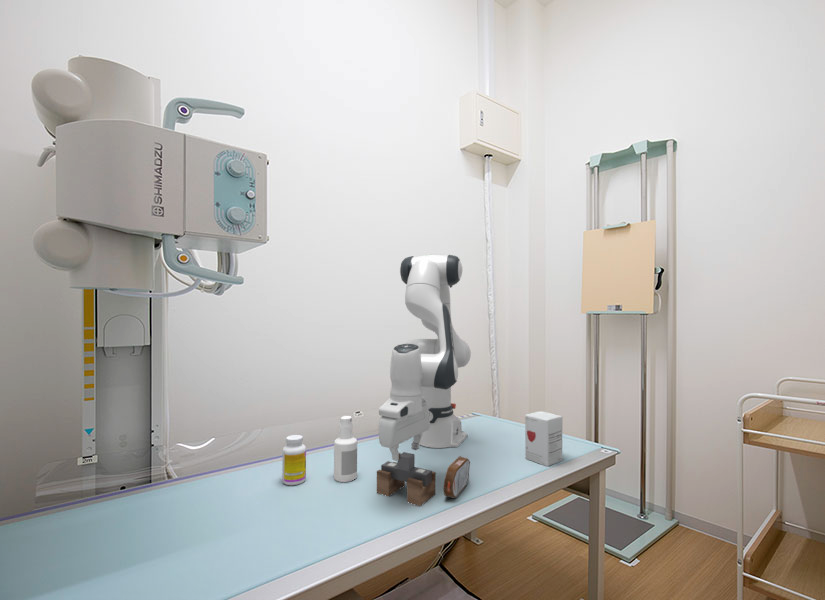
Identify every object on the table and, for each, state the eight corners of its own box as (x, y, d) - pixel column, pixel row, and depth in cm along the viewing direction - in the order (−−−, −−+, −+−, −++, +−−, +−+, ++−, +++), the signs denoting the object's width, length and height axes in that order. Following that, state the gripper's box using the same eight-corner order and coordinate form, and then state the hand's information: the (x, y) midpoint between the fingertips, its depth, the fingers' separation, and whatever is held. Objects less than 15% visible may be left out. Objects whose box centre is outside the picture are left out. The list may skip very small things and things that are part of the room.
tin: (461, 480, 121) (461, 451, 121) (471, 482, 120) (471, 453, 120) (442, 502, 107) (442, 469, 108) (453, 504, 106) (453, 471, 106)
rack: (393, 482, 119) (393, 461, 119) (435, 494, 112) (435, 472, 112) (376, 493, 112) (376, 471, 112) (420, 506, 105) (420, 482, 105)
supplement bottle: (308, 483, 119) (308, 438, 119) (285, 488, 115) (285, 442, 116) (302, 474, 124) (302, 432, 125) (279, 479, 121) (280, 435, 121)
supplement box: (524, 458, 138) (524, 414, 138) (539, 453, 144) (539, 410, 144) (547, 467, 131) (547, 420, 131) (563, 460, 137) (563, 415, 137)
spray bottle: (352, 483, 118) (352, 421, 119) (330, 481, 120) (330, 419, 120) (360, 474, 125) (360, 415, 125) (339, 472, 126) (339, 413, 127)
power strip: (387, 471, 117) (387, 448, 117) (431, 481, 110) (431, 457, 110) (381, 476, 114) (381, 452, 114) (426, 486, 107) (426, 461, 107)
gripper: (416, 395, 123) (416, 441, 123) (374, 410, 106) (374, 464, 106) (434, 398, 120) (434, 445, 119) (394, 413, 102) (394, 469, 102)
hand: (406, 454), depth 112 cm, fingers open, 8 cm apart
